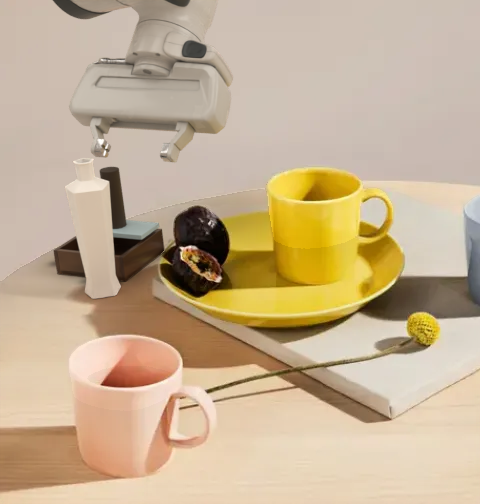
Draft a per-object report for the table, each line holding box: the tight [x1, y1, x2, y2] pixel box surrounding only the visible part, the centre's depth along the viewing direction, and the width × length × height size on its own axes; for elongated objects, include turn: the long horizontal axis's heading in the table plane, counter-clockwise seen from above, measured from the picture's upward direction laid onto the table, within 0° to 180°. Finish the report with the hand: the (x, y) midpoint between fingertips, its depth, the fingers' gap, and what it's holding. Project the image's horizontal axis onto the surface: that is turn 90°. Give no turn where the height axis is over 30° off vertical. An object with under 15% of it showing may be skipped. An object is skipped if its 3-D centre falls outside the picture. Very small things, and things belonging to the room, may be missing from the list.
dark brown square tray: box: [52, 228, 165, 282], centre depth 111 cm, size 9×9×3 cm
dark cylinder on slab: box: [99, 166, 160, 240], centre depth 111 cm, size 9×4×8 cm, turn 73°
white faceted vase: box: [64, 157, 122, 300], centre depth 101 cm, size 5×4×15 cm
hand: (132, 157), depth 114 cm, fingers open, 8 cm apart
